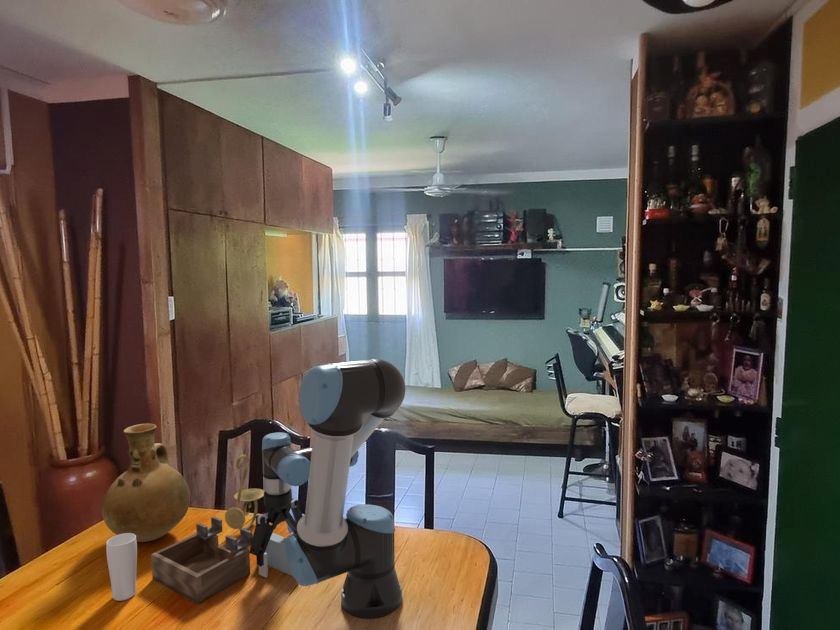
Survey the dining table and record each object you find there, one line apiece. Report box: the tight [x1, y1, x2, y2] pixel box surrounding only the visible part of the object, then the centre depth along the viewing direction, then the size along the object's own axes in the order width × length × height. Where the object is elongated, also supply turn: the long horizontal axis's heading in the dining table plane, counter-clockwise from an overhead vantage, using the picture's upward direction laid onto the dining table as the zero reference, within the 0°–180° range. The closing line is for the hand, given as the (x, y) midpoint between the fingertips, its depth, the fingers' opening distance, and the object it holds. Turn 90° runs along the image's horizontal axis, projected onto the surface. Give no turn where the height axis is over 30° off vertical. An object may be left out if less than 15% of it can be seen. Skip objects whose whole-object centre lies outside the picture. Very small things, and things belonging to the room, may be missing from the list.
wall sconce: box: [224, 454, 264, 531], centre depth 171 cm, size 14×10×25 cm
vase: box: [101, 423, 191, 543], centre depth 166 cm, size 24×24×35 cm
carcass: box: [150, 516, 253, 605], centre depth 147 cm, size 20×18×11 cm
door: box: [265, 532, 294, 577], centre depth 151 cm, size 14×4×8 cm, turn 57°
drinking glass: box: [105, 533, 138, 602], centre depth 137 cm, size 7×7×15 cm
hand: (279, 565), depth 151 cm, fingers open, 11 cm apart
